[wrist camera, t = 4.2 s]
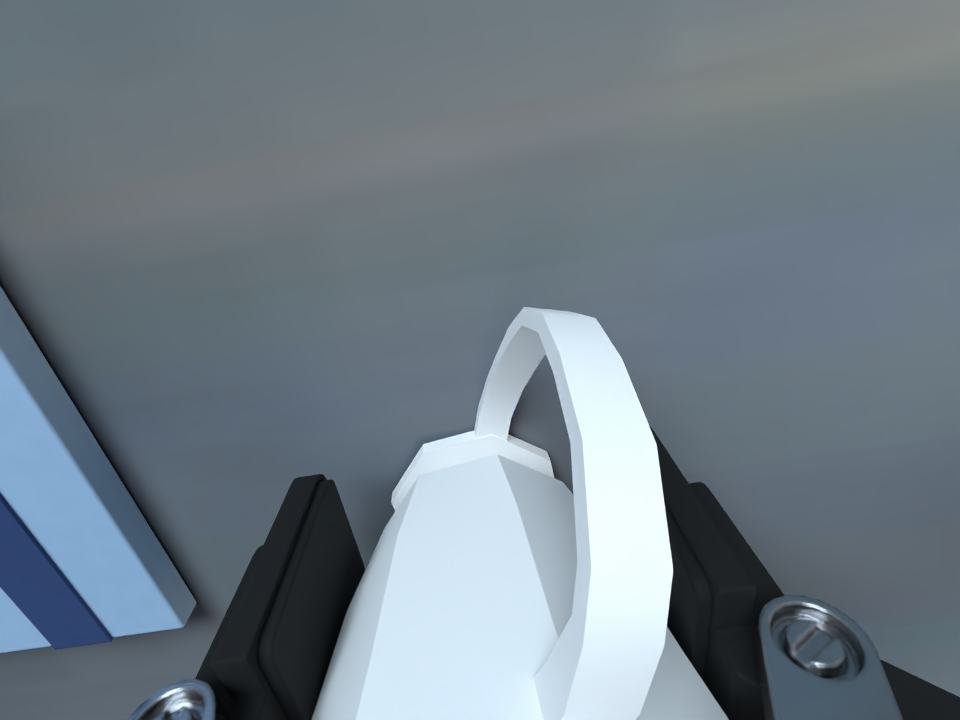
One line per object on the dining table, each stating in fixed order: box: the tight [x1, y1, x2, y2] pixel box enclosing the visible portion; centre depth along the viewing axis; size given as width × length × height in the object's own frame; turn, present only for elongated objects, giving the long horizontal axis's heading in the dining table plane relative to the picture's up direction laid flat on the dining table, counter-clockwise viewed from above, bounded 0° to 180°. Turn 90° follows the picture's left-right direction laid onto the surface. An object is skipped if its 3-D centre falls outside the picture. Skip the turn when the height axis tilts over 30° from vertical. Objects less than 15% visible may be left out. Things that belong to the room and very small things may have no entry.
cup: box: [311, 307, 729, 720], centre depth 8 cm, size 7×10×8 cm
